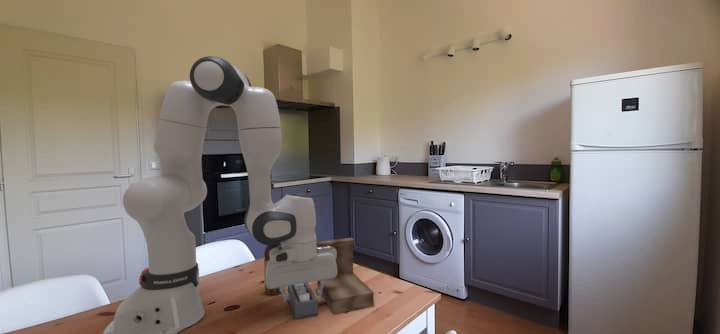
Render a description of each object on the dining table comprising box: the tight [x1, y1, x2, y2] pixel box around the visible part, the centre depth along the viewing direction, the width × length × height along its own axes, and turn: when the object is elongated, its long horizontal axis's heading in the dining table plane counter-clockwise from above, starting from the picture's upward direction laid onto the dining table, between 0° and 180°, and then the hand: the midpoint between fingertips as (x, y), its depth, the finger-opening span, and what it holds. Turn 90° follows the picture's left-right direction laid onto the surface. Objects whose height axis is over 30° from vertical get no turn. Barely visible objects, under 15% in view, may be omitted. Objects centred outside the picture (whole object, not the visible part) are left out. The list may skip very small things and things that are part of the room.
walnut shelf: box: [316, 237, 375, 315], centre depth 99 cm, size 12×18×16 cm, turn 21°
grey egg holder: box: [287, 282, 319, 321], centre depth 93 cm, size 6×14×5 cm, turn 21°
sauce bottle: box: [263, 242, 282, 295], centre depth 104 cm, size 6×6×20 cm
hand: (303, 297), depth 93 cm, fingers open, 8 cm apart
